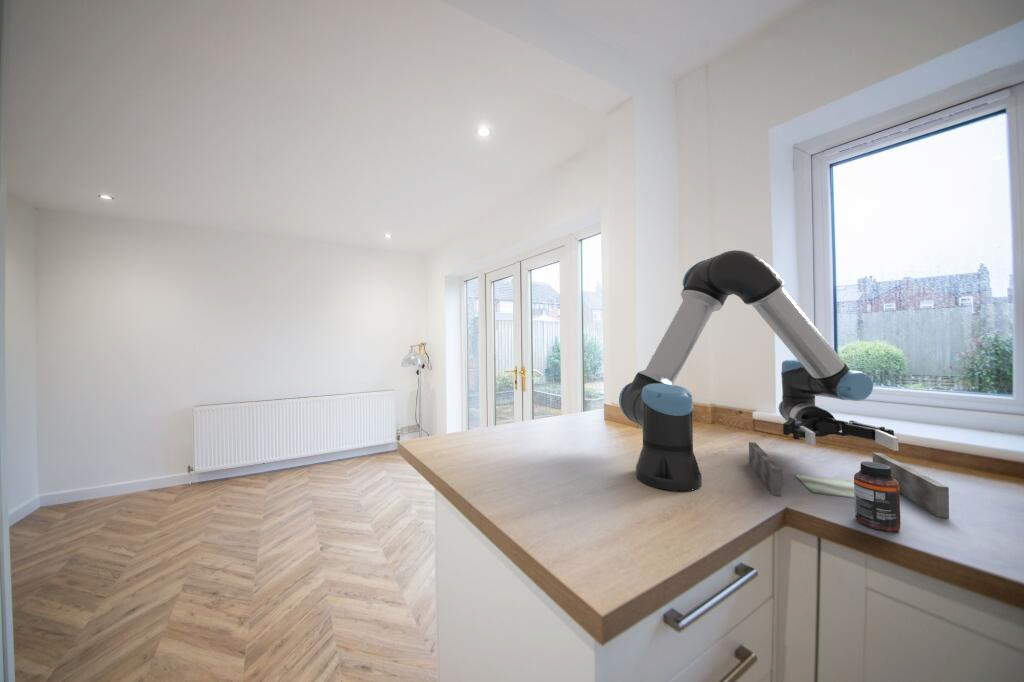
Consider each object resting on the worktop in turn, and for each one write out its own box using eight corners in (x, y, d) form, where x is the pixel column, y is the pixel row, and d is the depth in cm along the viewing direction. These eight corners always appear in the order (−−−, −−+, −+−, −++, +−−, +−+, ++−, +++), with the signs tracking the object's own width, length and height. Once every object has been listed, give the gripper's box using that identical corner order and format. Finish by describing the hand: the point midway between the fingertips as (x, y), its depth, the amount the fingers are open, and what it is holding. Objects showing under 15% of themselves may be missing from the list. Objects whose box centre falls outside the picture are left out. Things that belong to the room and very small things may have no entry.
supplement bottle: (879, 517, 68) (878, 459, 68) (910, 534, 62) (910, 470, 62) (845, 516, 69) (845, 458, 69) (874, 532, 63) (873, 470, 63)
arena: (749, 463, 98) (748, 441, 98) (881, 477, 88) (881, 453, 88) (772, 494, 78) (772, 468, 78) (949, 518, 67) (948, 487, 67)
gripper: (873, 437, 89) (934, 465, 70) (757, 430, 99) (782, 453, 79) (872, 408, 89) (933, 428, 70) (756, 404, 99) (781, 420, 79)
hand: (853, 441), depth 74 cm, fingers open, 13 cm apart
